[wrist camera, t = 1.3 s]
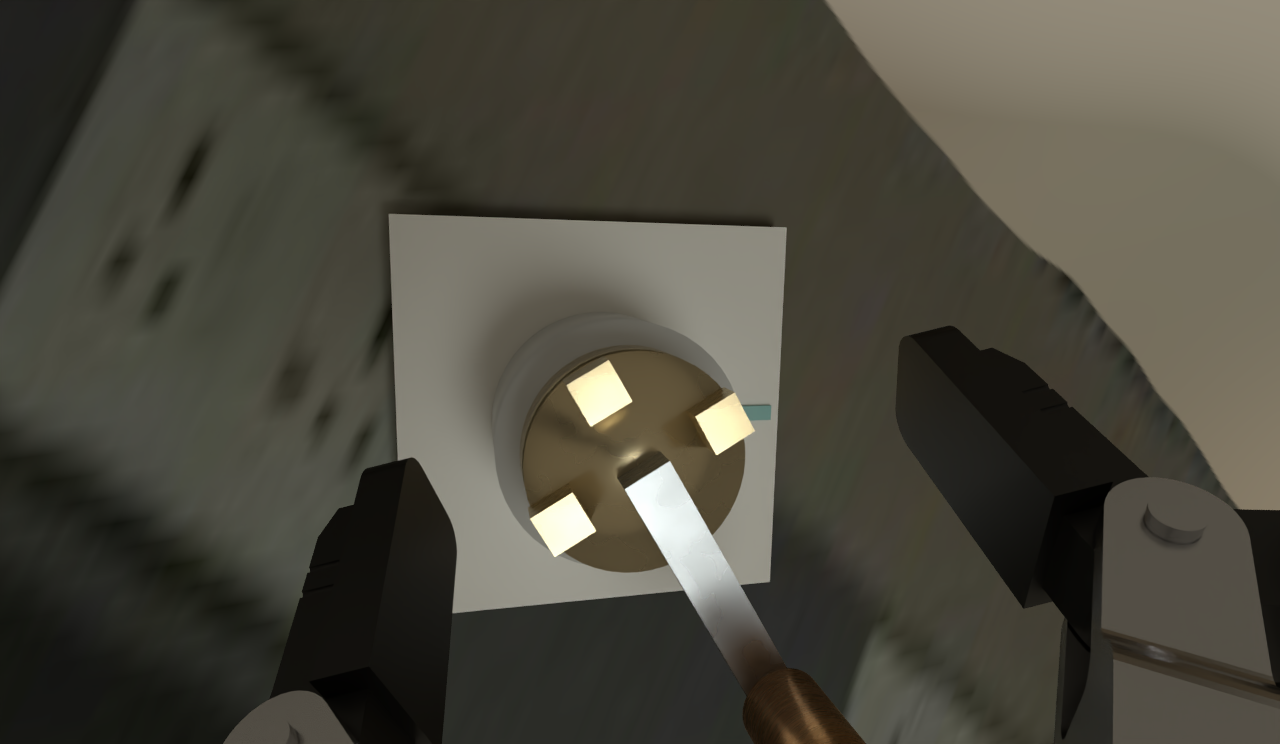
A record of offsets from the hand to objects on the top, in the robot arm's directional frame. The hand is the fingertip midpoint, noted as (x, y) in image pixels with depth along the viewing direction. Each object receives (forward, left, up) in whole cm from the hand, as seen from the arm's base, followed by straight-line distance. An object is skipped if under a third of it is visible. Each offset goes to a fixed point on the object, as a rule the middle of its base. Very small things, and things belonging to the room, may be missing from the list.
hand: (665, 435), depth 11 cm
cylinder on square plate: (+3, -5, -25) cm, 25 cm away
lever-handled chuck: (+5, -9, -17) cm, 20 cm away
